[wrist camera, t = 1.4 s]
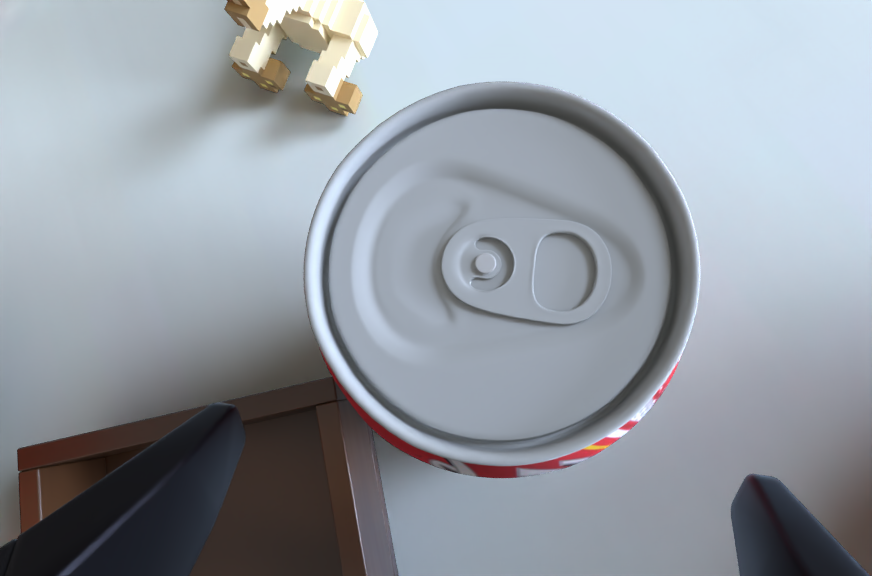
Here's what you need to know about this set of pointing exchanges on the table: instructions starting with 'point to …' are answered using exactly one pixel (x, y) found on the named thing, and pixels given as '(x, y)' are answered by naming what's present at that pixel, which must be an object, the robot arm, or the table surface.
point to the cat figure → (304, 45)
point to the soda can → (502, 278)
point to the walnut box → (253, 485)
